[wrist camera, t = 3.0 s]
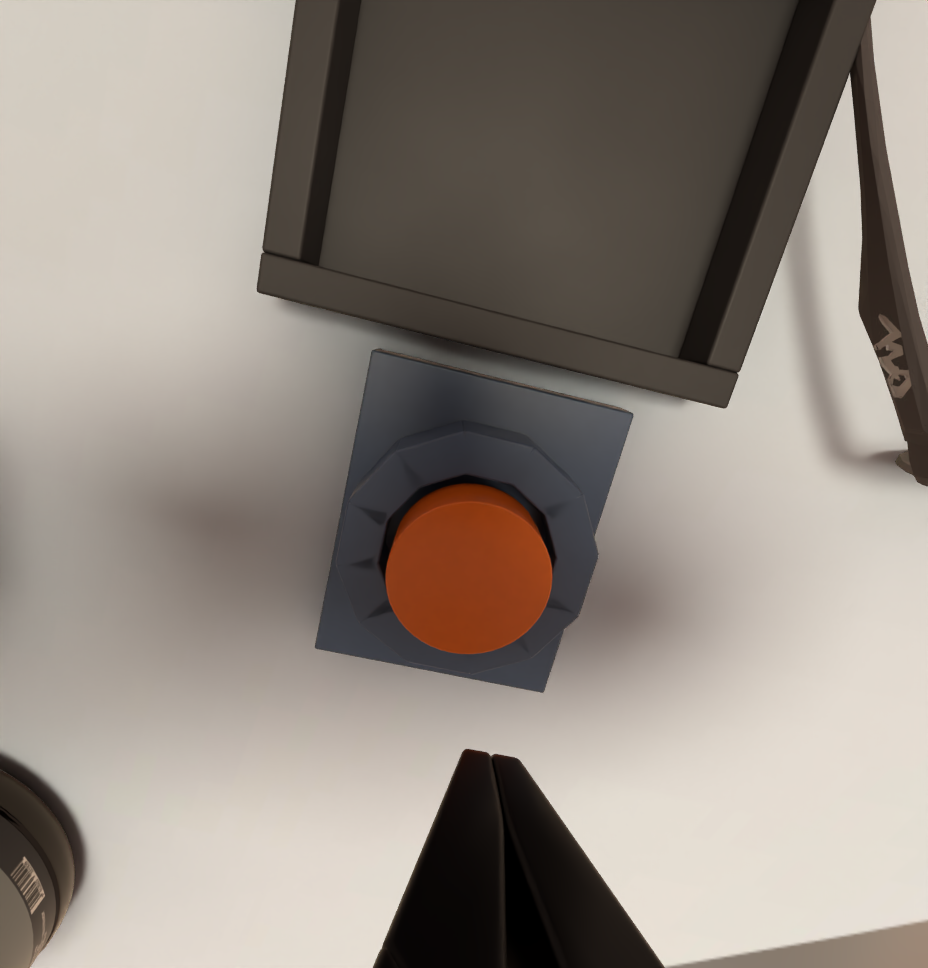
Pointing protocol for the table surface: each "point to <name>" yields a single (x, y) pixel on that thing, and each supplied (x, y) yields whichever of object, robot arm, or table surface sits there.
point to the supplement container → (30, 874)
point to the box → (456, 460)
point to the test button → (468, 569)
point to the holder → (555, 172)
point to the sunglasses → (888, 272)
